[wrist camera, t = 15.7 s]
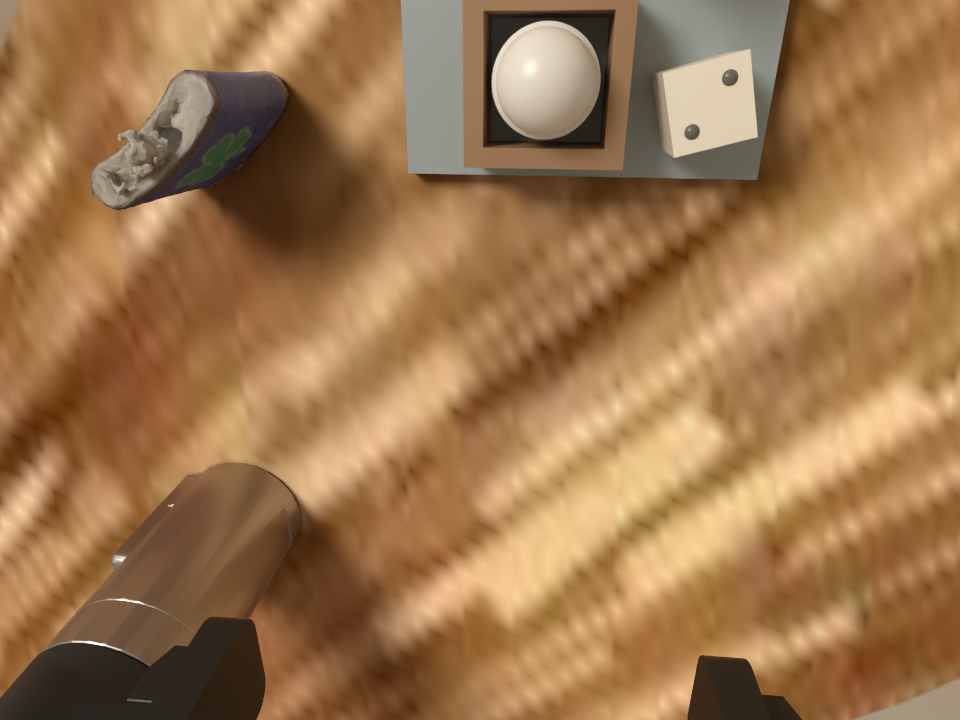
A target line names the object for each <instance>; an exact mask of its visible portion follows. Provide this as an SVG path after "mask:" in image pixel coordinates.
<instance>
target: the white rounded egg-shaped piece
mask: <svg viewBox="0 0 960 720" xmlns="http://www.w3.org/2000/svg"><path fill="white" fill-rule="evenodd" d="M600 83H601V73H600V65H599V61H598V58H597V55H596V53H595V51H594V49H593V47H592V45H591V44H590V42H589V41H588V39H587V38H586V37H585V36H584V35H583V34H582V33H581V32H579V31H578V30H577V29H575V28H573V27H572V26H570V25H567V24H565V23H562V22H557V21H540V22H536V23H532V24H530V25H527V26H525V27H523V28H521V29H520V30H518V31H517V32H516V33H514V34H513V35H512V36H511V37H510V38H509V39H508V40H507V41H506V43H505V44H504V45H503V47H502V48H501V50H500V52H499V54H498V56H497V58H496V61H495V64H494V68H493V73H492V93H493V98H494V101H495V105H496V107H497V109H498V111H499V113H500V115H501V116H502V118H503V119H504V120H505V122H506V123H507V124H508V125H509V126H510V127H511V128H513V129H514V130H515V131H517V132H518V133H520V134H522V135H524V136H527V137H529V138H534V139H541V140H547V139H554V138H558V137H561V136H564V135H566V134H568V133H570V132H572V131H573V130H575V129H576V128H577V127H578V126H580V125H581V124H582V123H583V122H584V121H585V119H586V118H587V117H588V115H589V114H590V113H591V111H592V109H593V107H594V105H595V103H596V100H597V98H598V94H599V90H600Z"/></svg>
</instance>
